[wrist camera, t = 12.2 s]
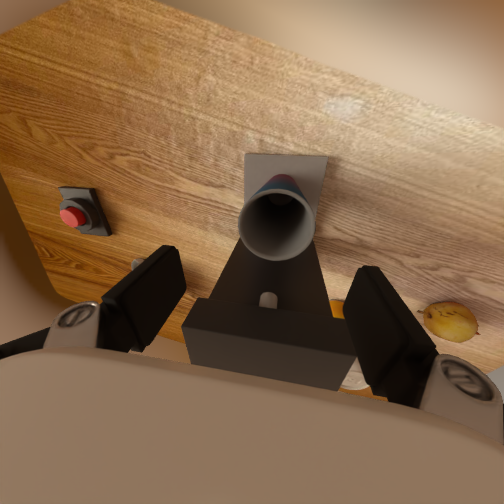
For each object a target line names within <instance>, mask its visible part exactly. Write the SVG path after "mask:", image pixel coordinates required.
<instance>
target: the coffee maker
mask: <svg viewBox="0 0 504 504" xmlns="http://www.w3.org/2000/svg"><path fill="white" fill-rule="evenodd" d="M328 158H329V157H328V156H310V155H282V154H253V153H246V154H244V205H245V204H246V202H247V201H248V200H249V199H250V198H251V197H252V196H253V195H254V194H255V193H256V192H257V191H258V190H259V189H260V188H261V187H262V186H263V185H264V184H265V183H267V182H268V181H269V180H270V179H271V178H272V177H273V176H275V175H278V174H286V175H289V176H290V177H292V178H293V179H294V180H295V182H296V184H297V185H298V187H299V189H300V190H301V192H302V193H303V195H304V197H305V198H306V200H307V202H308V203H309V205H310V207H311V208H312V210H313V213H314V215H315V219H316V214H317V209H318V205H319V200H320V195H321V190H322V186H323V181H324V176H325V172H326V167H327V162H328ZM181 328H182V332H183V336H184V339H185V343H186V347H187V350H188V354H189V358H190V361H191V364H193V365H199V366H204V367H209V368H215V369H220V370H226V371H231V372H237V373H242V374H247V375H253V376H258V377H263V378H269V379H274V380H279V381H285V382H290V383H295V384H300V385H306V386H311V387H316V388H321V389H327V390H332V391H338V390H339V388H340V386H341V384H342V383H343V381H344V379H345V377H346V376H347V374H348V372H349V370H350V368H351V367H352V365H353V363H354V361H355V360H356V358H357V355H356V352H355V349H354V346H353V343H352V340H351V337H350V334H349V331H348V328H347V325H346V322H345V319H343V318H336V317H333V314H332V310H331V306H330V302H329V298H328V294H327V291H326V287H325V283H324V279H323V275H322V271H321V268H320V264H319V260H318V256H317V252H316V248H315V244H314V241H313V239H312V241H311V243H310V245H309V246H308V247H307V248H306V249H305V250H304V251H303V252H302V253H300V254H299V255H297V256H295V257H293V258H290V259H287V260H281V261H272V260H267V259H264V258H261V257H259V256H257V255H255V254H254V253H252V252H251V251H250V250H249V249H248V248H247V247H246V246H245V245H244V243H243V241H242V239H241V237H240V238H239V240H238V242H237V244H236V246H235V248H234V250H233V252H232V254H231V256H230V258H229V260H228V262H227V263H226V265H225V267H224V269H223V271H222V273H221V275H220V277H219V279H218V281H217V283H216V285H215V287H214V289H213V291H212V293H211V295H210V297H209V298H208V299H206V298H200V297H198V298H197V300H196V302H195V303H194V305H193V307H192V309H191V310H190V312H189V314H188V315H187V317H186V319H185V321H184V322H183V324H182V326H181Z"/></svg>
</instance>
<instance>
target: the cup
mask: <svg viewBox="0 0 504 504" xmlns="http://www.w3.org/2000/svg"><path fill="white" fill-rule="evenodd" d="M238 229H239V234H240V237H241V239H242V241H243V243H244V245H245V246H246V247H247V248H248V249H249V250H250V251H251V252H252V253H254V254H255V255H257V256H259V257H261V258H264V259H267V260H272V261H281V260H287V259H290V258H293V257H295V256H297V255H299V254H300V253H302V252H303V251H304V250H305V249H306V248H307V247H308V246H309V245H310V243H311V241H312V239H313V237H314V234H315V229H316V221H315V215H314V213H313V210H312V208H311V207H310V205H309V203H308V202H307V200H306V198H305V197H304V195H303V193H302V192H301V190H300V189H299V187H298V185H297V184H296V182H295V180H294V179H293V178H292V177H290V176H289V175H286V174H278V175H275V176H273V177H272V178H271V179H270V180H269V181H268V182H267V183H265V184H264V185H263V186H262V187H261V188H260V189H259V190H258V191H257V192H256V193H255V194H254V195H253V196H252V197H251V198H250V199H249V200H248V201H247V202H246V204H245V205H244V206H243V208H242V210H241V212H240V215H239V219H238Z"/></svg>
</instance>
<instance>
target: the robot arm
mask: <svg viewBox="0 0 504 504" xmlns="http://www.w3.org/2000/svg"><path fill="white" fill-rule="evenodd" d="M185 291H186V282H185V277H184V273H183V268H182V264H181V259H180V255H179V251H178V249H176V248H175V246H169V245H162V246H161V247H160V248H159V249H157V250H156V251H155V252H154V253H153V254H151V255H150V256H149V257H148V258H147V259H146V260H144V261H143V262H142V263H141V264H140V265H138V266H137V267H136V268H135V269H134V270H133V271H131V272H130V273H129V274H128V275H127V276H125V277H124V278H123V279H122V280H121V281H120V282H118V283H117V284H116V285H115V286H114V287H112V288H111V289H110V290H109V291H108V292H107V293H105V294H104V295H103V296H102V297H101V298H102V300H103V302H102V303H101V304H99V303H98V302H95V301H85V302H81V303H78V304H75V305H73V306H71V307H69V308H67V309H65V310H64V311H63V312H61V313H60V314H59V315H58V316H57V317H56V318H55V319H54V321H53V323H52V325H51V327H49V328H46V329H43V330H41V331H38V332H35V333H32V334H29V335H27V336H24V337H21V338H19V339H16V340H13V341H10V342H8V343H5V344H2V345H0V504H504V404H503V400H502V396H501V393H500V391H499V390H498V388H497V387H496V385H495V384H494V383H493V382H492V381H491V380H490V378H489V377H488V376H487V375H485V374H484V373H483V372H482V371H481V370H479V369H478V368H477V367H475V366H474V365H472V364H470V363H469V362H467V361H465V360H463V359H461V358H459V357H456V356H453V355H450V354H439V353H438V352H437V350H436V349H435V348H436V345H435V344H434V342H433V341H432V340H431V338H430V337H429V336H428V334H427V333H426V332H425V330H424V329H423V327H422V326H421V325H420V323H419V322H418V321H417V319H416V318H415V316H414V315H413V314H412V312H411V311H410V310H409V308H408V307H407V305H406V304H405V303H404V301H403V300H402V299H401V297H400V296H399V294H398V293H397V292H396V290H395V289H394V288H393V286H392V285H391V284H390V282H389V281H388V279H387V278H386V277H385V275H384V274H383V273H382V271H381V270H380V268H379V267H377V266H367V265H364V266H362V268H358V270H357V272H356V275H355V277H354V280H353V282H352V285H351V287H350V289H349V292H348V294H347V297H346V299H345V302H344V304H343V308H342V311H343V315H344V318H345V322H346V325H347V328H348V331H349V334H350V337H351V340H352V343H353V346H354V349H355V352H356V355H357V358H358V361H359V364H360V367H361V370H362V373H363V376H364V379H365V382H366V384H367V385H370V387H371V390H372V392H373V395H377V396H382V397H387V399H388V401H389V402H386V401H381V400H376V399H372V398H367V397H362V396H357V395H352V394H348V393H342V392H337V391H332V390H327V389H321V388H316V387H311V386H306V385H300V384H295V383H290V382H285V381H279V380H274V379H269V378H263V377H258V376H253V375H247V374H242V373H237V372H231V371H226V370H220V369H215V368H209V367H204V366H199V365H193V364H188V363H182V362H176V361H171V360H165V359H160V358H154V357H149V356H143V355H137V354H131V353H128V352H129V350H130V349H131V350H132V351H137V352H143V350H144V349H145V347H146V346H148V345H150V344H151V342H152V341H153V340H154V338H155V337H156V335H157V334H158V332H159V331H160V329H161V328H162V326H163V325H164V323H165V322H166V320H167V319H168V317H169V316H170V314H171V313H172V311H173V310H174V308H175V307H176V305H177V304H178V302H179V301H180V299H181V298H182V296H183V295H184V293H185Z"/></svg>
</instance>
